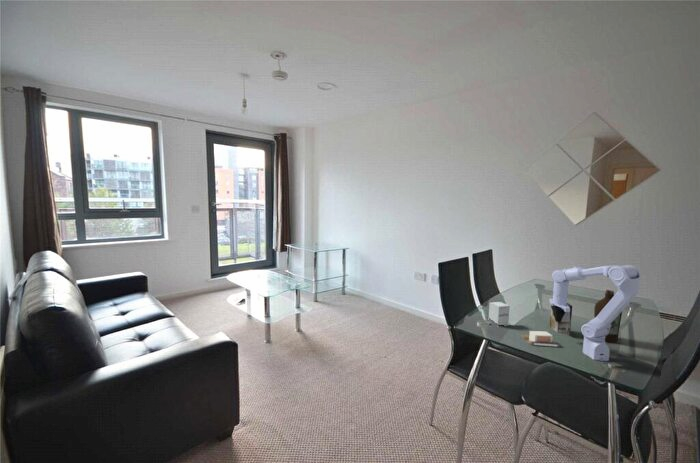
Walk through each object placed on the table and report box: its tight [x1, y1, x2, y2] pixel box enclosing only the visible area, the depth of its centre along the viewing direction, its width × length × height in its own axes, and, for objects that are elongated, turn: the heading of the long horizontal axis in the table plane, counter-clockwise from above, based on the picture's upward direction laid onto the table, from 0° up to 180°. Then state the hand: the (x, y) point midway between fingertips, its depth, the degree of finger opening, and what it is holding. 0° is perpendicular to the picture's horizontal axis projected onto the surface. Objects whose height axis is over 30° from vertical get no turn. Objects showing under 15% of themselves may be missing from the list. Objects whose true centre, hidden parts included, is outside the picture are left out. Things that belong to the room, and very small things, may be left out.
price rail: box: [530, 341, 561, 348], centre depth 143 cm, size 1×12×2 cm, turn 82°
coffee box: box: [549, 302, 573, 337], centre depth 161 cm, size 9×6×16 cm
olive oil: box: [593, 289, 623, 344], centre depth 154 cm, size 11×11×25 cm
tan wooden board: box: [519, 333, 561, 348], centre depth 148 cm, size 12×13×2 cm
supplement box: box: [488, 301, 511, 327], centre depth 169 cm, size 7×7×13 cm
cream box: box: [528, 330, 553, 343], centre depth 146 cm, size 5×8×4 cm, turn 89°
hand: (557, 321), depth 149 cm, fingers closed
